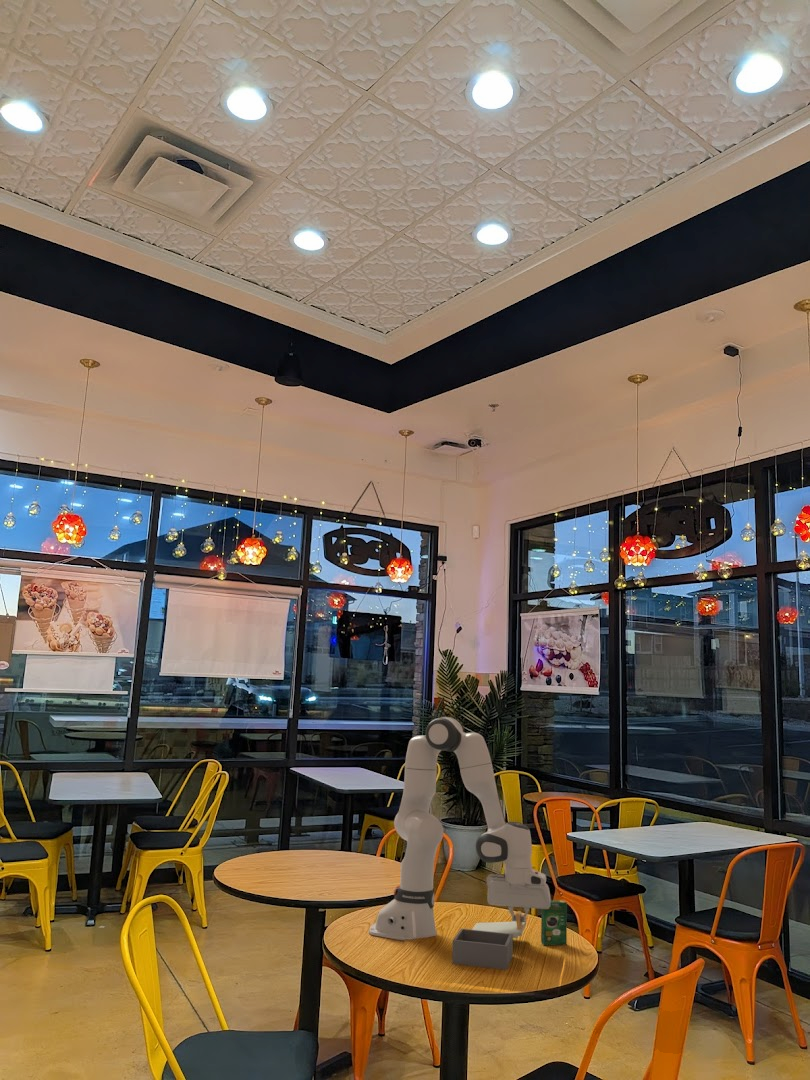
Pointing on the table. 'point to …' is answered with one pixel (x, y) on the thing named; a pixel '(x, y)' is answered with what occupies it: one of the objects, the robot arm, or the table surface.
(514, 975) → the table surface
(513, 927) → the lid
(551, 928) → the coffee box
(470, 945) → the tub
